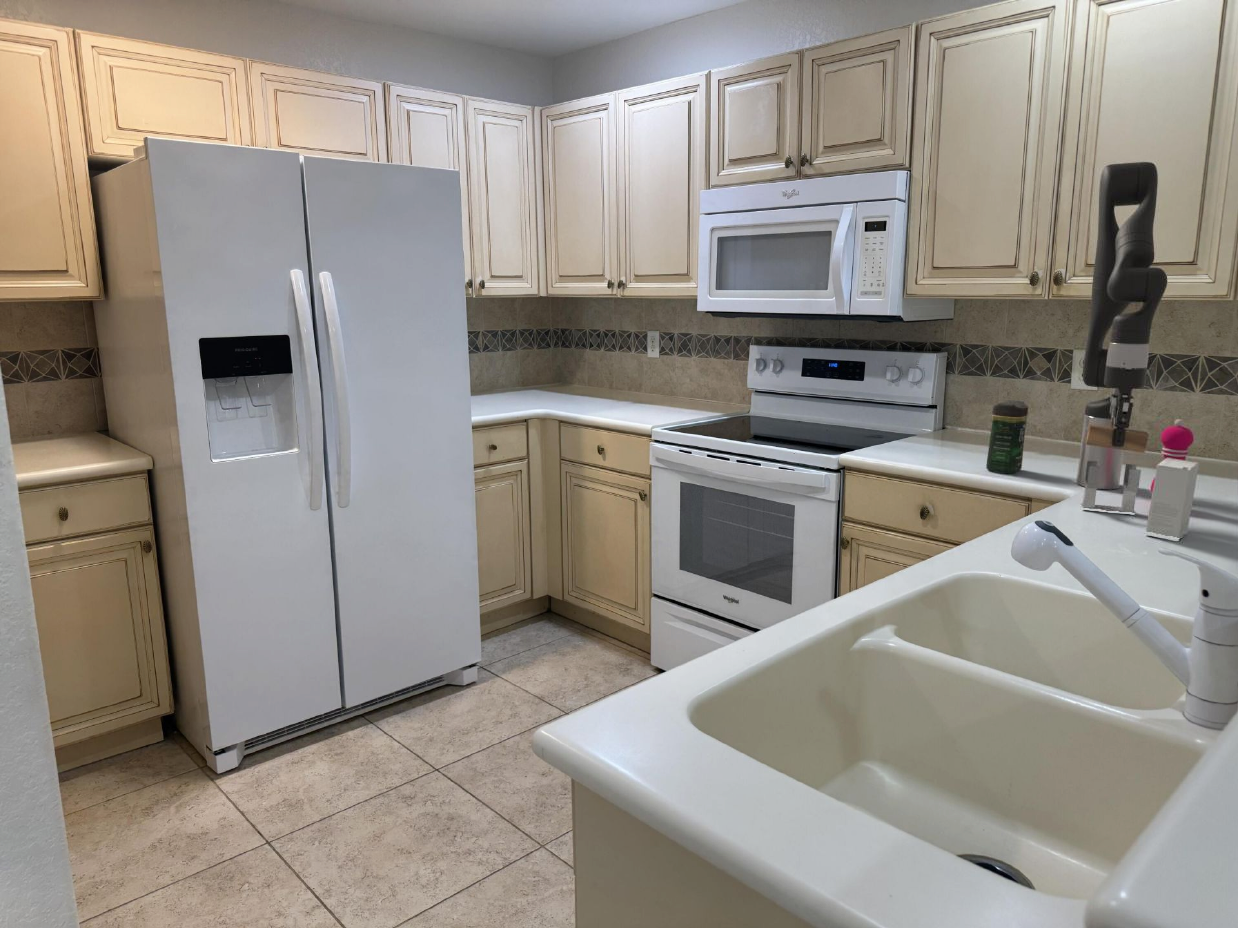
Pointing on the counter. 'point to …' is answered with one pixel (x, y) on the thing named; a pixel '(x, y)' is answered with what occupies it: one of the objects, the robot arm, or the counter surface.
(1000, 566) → the counter surface
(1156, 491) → the skincare box
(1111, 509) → the bracket
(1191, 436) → the pepper mill
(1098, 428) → the rail
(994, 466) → the coffee jar
